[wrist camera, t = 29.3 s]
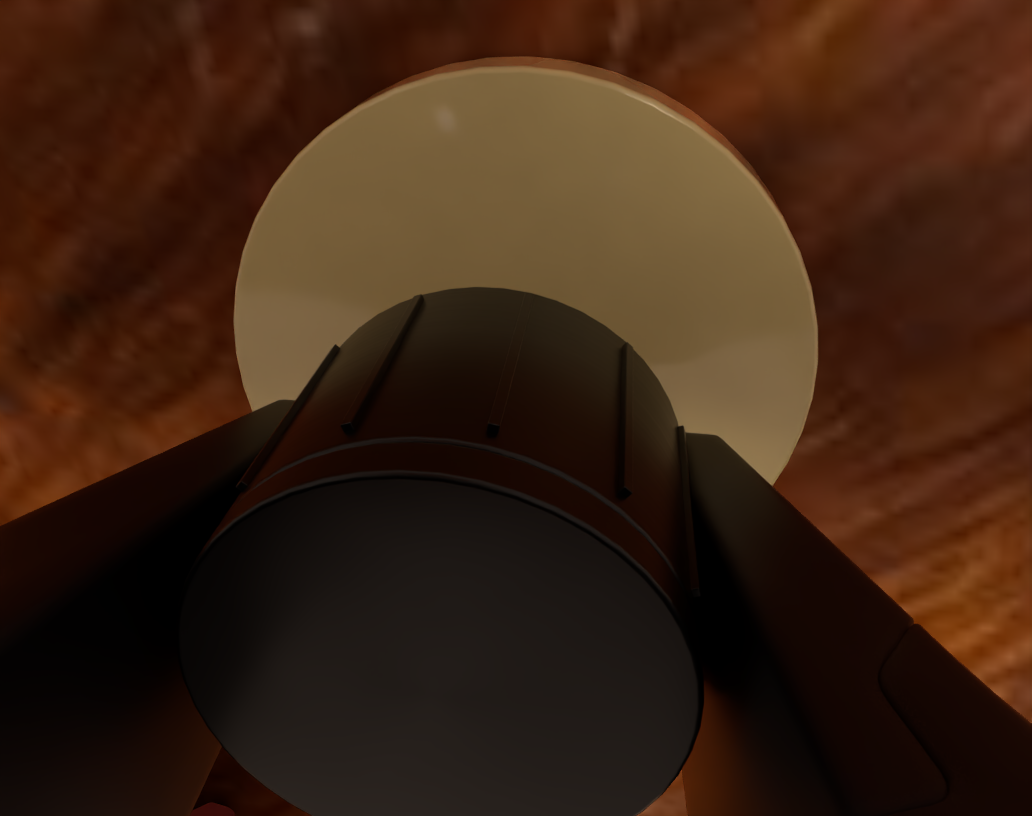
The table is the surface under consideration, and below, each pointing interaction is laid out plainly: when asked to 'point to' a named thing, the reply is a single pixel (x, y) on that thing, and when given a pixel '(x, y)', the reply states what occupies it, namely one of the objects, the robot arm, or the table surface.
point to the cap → (458, 575)
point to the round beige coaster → (541, 237)
